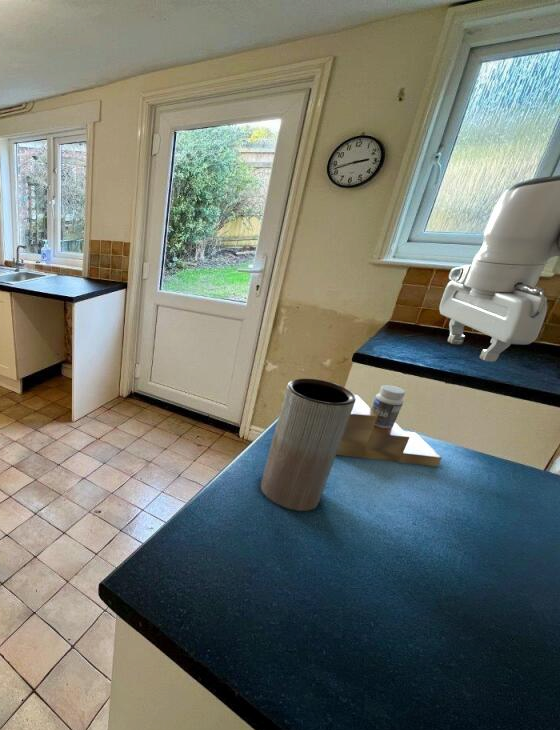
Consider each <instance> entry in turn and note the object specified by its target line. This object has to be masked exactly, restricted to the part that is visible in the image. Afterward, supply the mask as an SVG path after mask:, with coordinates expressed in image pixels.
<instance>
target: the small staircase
mask: <svg viewBox="0 0 560 730" xmlns="http://www.w3.org/2000/svg"><path fill="white" fill-rule="evenodd" d="M354 396H355V398H356V400H355V404H354V406H353V409H352V412H351V415H350V418H349V420H348V423H347V426H346V429H345V432H344V434H343V437H342V440H341V443H340V446H339V448H338V451H337V454H336V456H337V455H338V456H346V457H354V458H363V459H370V460H371V459H372V460H378V461H379V460H381V461H389V462H395V463H404V464H414V465H422V466H428V467H429V466H430V467H438V466H439V464H440V462H441V460H442V457H443V456H441V455H440V454H438V453H437V451H435V449H434V448H432V447H431V445H429V444H428V443H427V442H426V441H425V440H424V439H423V437H421V436H420V435H419V433H417V432H415V431H405V430H403V428H401V427H400V426H399V425H398V423H396V422H395V423H394V425H393V427H391V428H381V427H377V426H375V423H376V420H377V418H378V416H377V415H376V414H375V413H374V412H373V411H372V410H371V407H369V405H368V404H367V403H366V401H364V400H363V399H362V398H361V397H360V396H359V395H358V394H354Z"/></svg>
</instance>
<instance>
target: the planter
mask: <svg viewBox="0 0 560 730" xmlns="http://www.w3.org/2000/svg"><path fill="white" fill-rule="evenodd" d="M354 395H355V394H354V393H353V392H352V391H351V390H349V389H348V388H346V387H344V386H342V385H340V384H337V383H334V382H331V381H326V380H322V379H316V378H297V379H293V380H291V381H289V382H288V383H287V386H286V389H285V392H284V396H283V399H282V402H281V403H282V404H281V407H280V410H279V414H278V418H277V421H276V425H275V429H274V432H273V436H272V440H271V444H270V447H269V451H268V455H267V459H266V462H265V465H264V470H263V474H262V476H261V481H260V489H261V491H262V493H263V494H264V496H266V497H267V498H268V499H269V500H270V501H272V502H274V503H275V504H276V505H279V506H281V507H283V508H286V509H289V510H294V511H302V512H303V511H304V512H305V511H311V510H314V509H316V508H317V507H318V505H319V504H320V501H321V499H322V495H323V493H324V490H325V487H326V484H327V483H328V479H329V476H330V474H331V472H332V468H333V466H334V462H335V459H336V458H337V457H336V456H337V451H338V448H339V446H340V443H341V440H342V437H343V434H344V432H345V429H346V426H347V423H348V420H349V418H350V415H351V412H352V409H353V406H354V404H355V400H356V398H355V396H354Z"/></svg>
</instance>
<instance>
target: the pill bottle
mask: <svg viewBox="0 0 560 730" xmlns="http://www.w3.org/2000/svg"><path fill="white" fill-rule="evenodd" d="M405 394H406V391H405V390H404V389H403V388H401V387H400V386H399V387H398V386H395V385H390V384H384V385H381V387H380V389H379V393H377V394H376V395H375V397H374V400H373V402H372V405H371V407H370V409H371V410H372V411H373V412H374V413H375V414H376V415H377V416H378V418H377V420H376V423H375V426H377V427H381V428H391V427H393V425H394V423H396V421H397V419H398V416H399V414H400V411H401V409H402V408H403V405H404V396H405Z"/></svg>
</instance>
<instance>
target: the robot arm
mask: <svg viewBox="0 0 560 730" xmlns="http://www.w3.org/2000/svg"><path fill="white" fill-rule="evenodd" d="M482 238H483V240H482V245H481V247H480V248H479V250H478V252H477V253H476V254H475V255H474V257H473V260H472V262H471V264H467V265H463V266H462V265H461V266H458V267H457V266H456V267H453V268H452V269H451V270H450V272H449V274H448V279H449V282H448V283H447V285H446V286H445V289H444V291H443V294H442V298H441V299H440V303H439V314H440V315H441V316H444V317H446V318H447V319H450V320H449V323H448V326H449V328H448V329H449V334H448V335H449V336H448V337H447V343H450V344H453V345H461V344H463V343H464V340H465V338H466V335H464V330H465V329H464V328H465V327H468V328H470V329H473V330H476V331H478V332H480V333H482V334H484V335H487V336H489V337H491V339H490V341H489V343H490V345H489V346H488V347H487V349H482V350H481V353H480V355H479V358H480V359H481V360H483V361H484V362H491V363H494V362H496V361H497V360H498V359H499V356H500V354H501V353H503V352H504V351H505V350H507V349H508V348H509V347H510V346H511V345H530V344H532V343H533V342H534V341H537V339H538V337H539V334H540V332H541V329H542V327H543V324H544V322H545V318H546V315H547V311H548V303H547V301H548V298H547V297H546V294H545V293H544V289H542V288H541V287H538V286H536V285H537V283H538V282H539V279H540V277H541V275H542V272H543V271H544V269H545V266H546V264H547V262H548V260H549V259H551V258H554V257H560V175H559V174H558V175H553V176H542V177H537V178H532V179H527V180H523V181H520V182H517V183H515V184H513V185H511V186H510V187H508V188H507V189H506V190H505V191H504V192H503V194H502V195H501V197H500V198H499V200H498V201H497V203H496V205H495V207H494V209H493V211H492V213H491V214H490V217H489V219H488V222H487V224H486V227H485V229H484V231H483V237H482Z"/></svg>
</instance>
